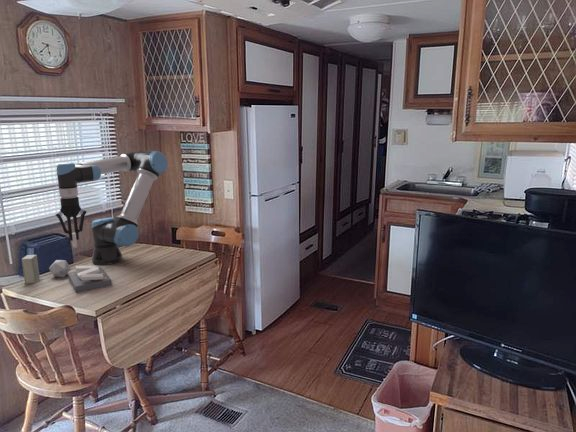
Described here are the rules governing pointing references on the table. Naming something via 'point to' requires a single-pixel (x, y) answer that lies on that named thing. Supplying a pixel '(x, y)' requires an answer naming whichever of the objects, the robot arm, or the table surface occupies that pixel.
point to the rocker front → (91, 276)
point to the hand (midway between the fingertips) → (75, 246)
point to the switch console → (89, 282)
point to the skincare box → (30, 268)
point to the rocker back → (83, 268)
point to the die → (59, 268)
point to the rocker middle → (89, 271)
